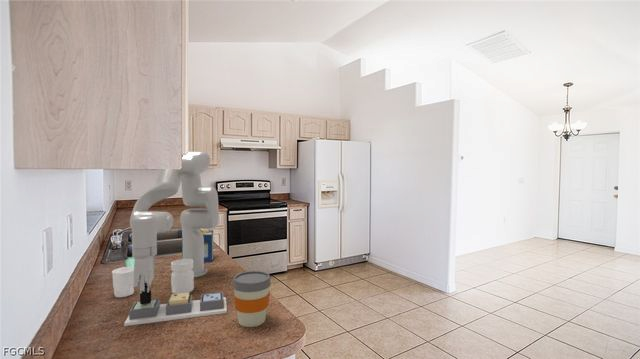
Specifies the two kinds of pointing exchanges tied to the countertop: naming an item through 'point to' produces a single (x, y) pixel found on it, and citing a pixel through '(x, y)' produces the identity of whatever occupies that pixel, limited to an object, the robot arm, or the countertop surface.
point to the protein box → (206, 245)
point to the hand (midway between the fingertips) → (145, 302)
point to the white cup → (123, 281)
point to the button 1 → (145, 305)
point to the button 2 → (179, 299)
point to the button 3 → (212, 297)
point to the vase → (182, 276)
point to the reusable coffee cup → (251, 297)
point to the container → (130, 262)
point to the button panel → (176, 310)
